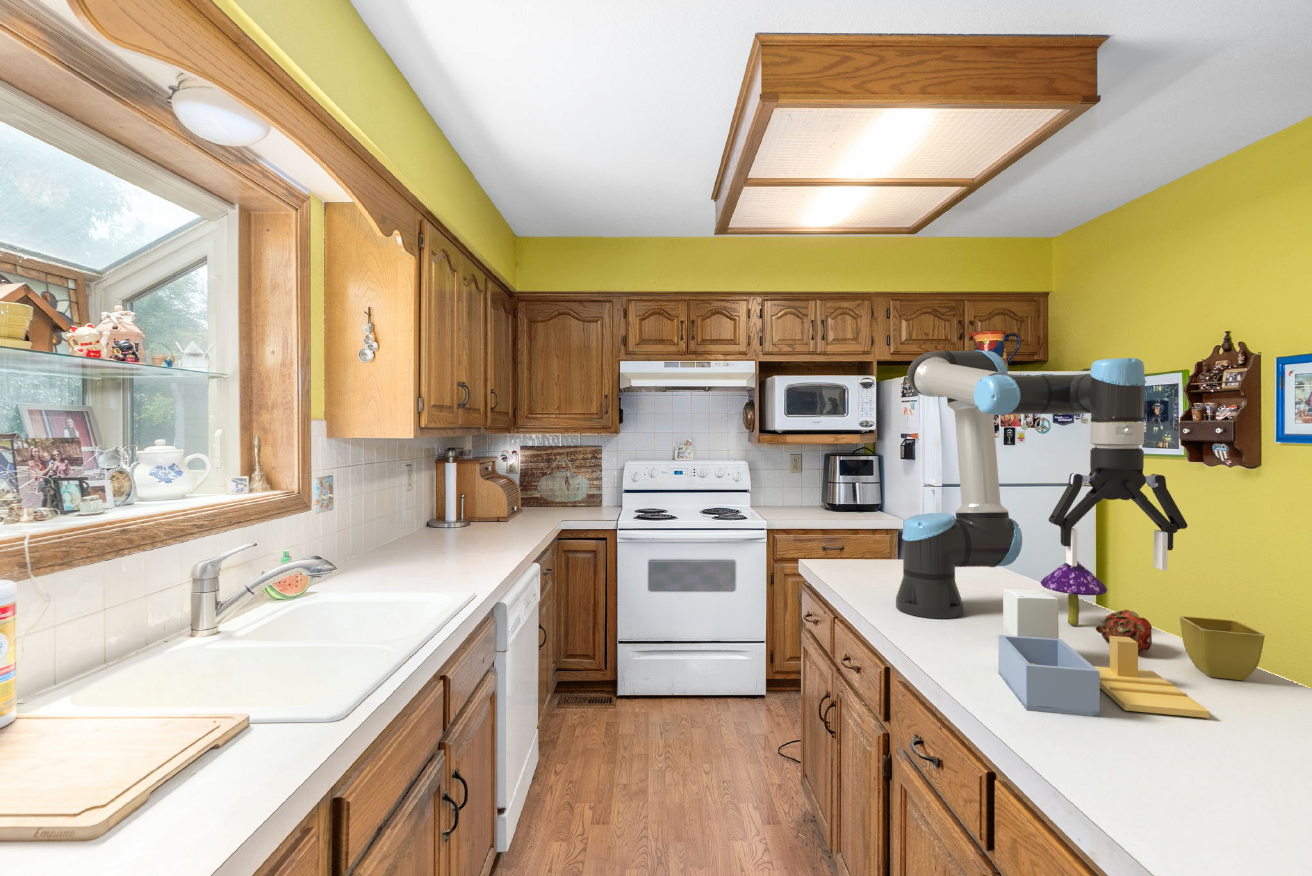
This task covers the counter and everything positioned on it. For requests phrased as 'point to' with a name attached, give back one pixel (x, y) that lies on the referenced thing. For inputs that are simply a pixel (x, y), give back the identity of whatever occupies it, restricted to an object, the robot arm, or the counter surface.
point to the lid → (1142, 684)
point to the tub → (1049, 675)
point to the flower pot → (1222, 646)
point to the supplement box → (1030, 613)
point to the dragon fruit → (1127, 628)
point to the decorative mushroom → (1073, 586)
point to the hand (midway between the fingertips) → (1115, 566)
